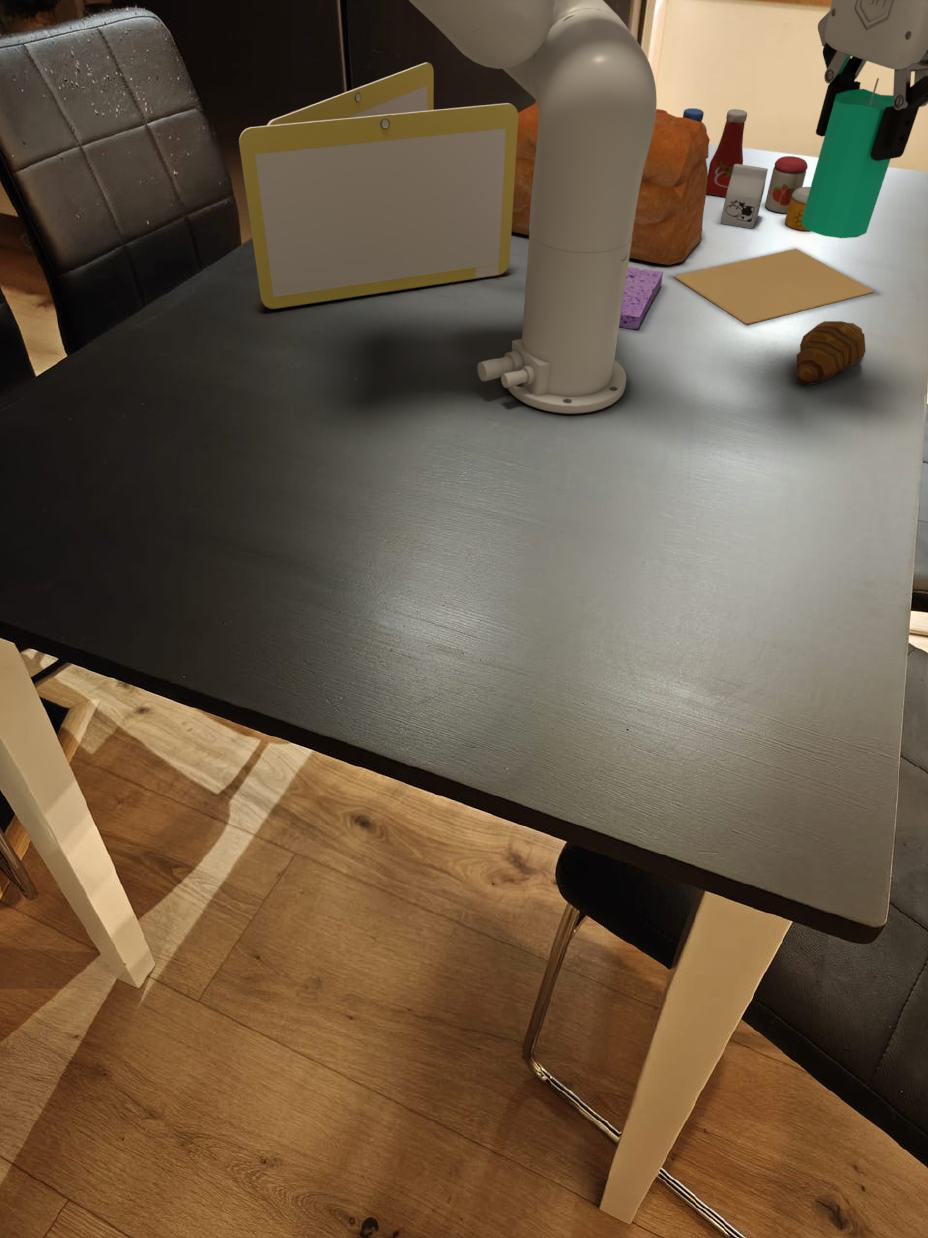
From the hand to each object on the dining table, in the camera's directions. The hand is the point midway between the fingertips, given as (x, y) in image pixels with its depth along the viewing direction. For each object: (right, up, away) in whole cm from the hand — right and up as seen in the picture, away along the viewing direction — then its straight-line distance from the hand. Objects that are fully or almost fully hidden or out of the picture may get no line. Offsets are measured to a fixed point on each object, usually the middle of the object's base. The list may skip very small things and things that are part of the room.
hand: (858, 143), depth 79 cm
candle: (0, -5, +5) cm, 7 cm away
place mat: (+4, 0, +34) cm, 34 cm away
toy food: (+3, +18, +52) cm, 55 cm away
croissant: (+5, -14, +20) cm, 25 cm away
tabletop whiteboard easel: (-42, +1, +34) cm, 54 cm away
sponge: (-16, -4, +30) cm, 34 cm away
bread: (-16, +11, +44) cm, 49 cm away
